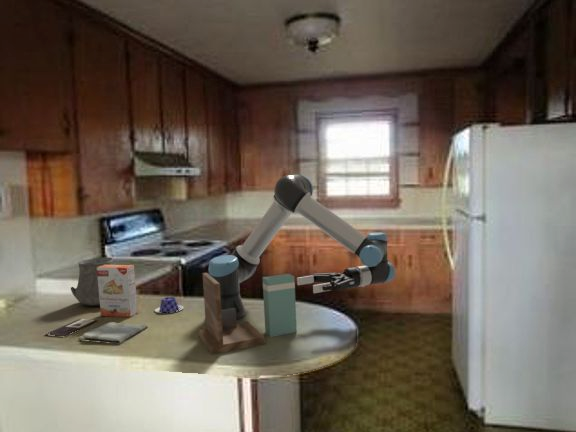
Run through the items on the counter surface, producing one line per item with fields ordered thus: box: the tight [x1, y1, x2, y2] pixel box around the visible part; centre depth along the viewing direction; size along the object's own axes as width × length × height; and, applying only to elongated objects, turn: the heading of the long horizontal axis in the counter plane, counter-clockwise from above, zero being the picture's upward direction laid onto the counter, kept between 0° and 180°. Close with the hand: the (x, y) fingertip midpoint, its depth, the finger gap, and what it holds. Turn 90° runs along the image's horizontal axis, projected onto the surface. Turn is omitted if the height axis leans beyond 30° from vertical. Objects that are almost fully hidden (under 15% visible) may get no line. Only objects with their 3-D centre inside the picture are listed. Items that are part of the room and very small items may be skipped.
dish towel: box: [78, 321, 149, 345], centre depth 172 cm, size 19×18×3 cm
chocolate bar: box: [45, 318, 99, 337], centre depth 181 cm, size 9×1×18 cm
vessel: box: [70, 256, 114, 307], centre depth 213 cm, size 22×22×20 cm
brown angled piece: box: [198, 272, 266, 356], centre depth 160 cm, size 18×18×22 cm
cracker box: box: [97, 264, 139, 318], centre depth 194 cm, size 14×6×21 cm, turn 76°
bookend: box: [221, 308, 238, 330], centre depth 165 cm, size 9×3×7 cm, turn 113°
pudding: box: [154, 296, 185, 314], centre depth 199 cm, size 12×12×5 cm
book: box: [262, 273, 298, 338], centre depth 166 cm, size 5×10×20 cm, turn 113°
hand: (305, 285), depth 169 cm, fingers open, 13 cm apart
